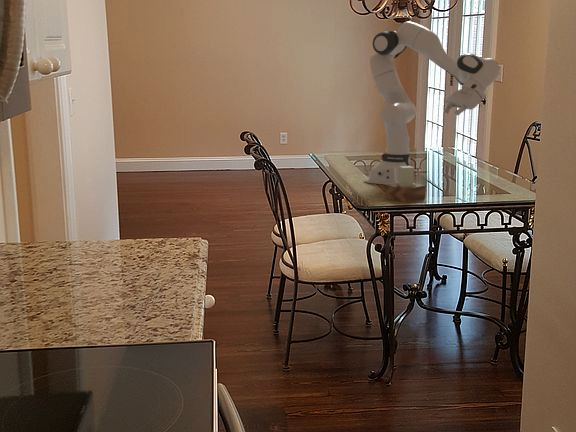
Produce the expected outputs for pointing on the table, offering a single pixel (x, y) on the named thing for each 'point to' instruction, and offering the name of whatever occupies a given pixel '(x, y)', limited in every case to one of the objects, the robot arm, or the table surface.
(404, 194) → the walnut riser
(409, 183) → the sage block
